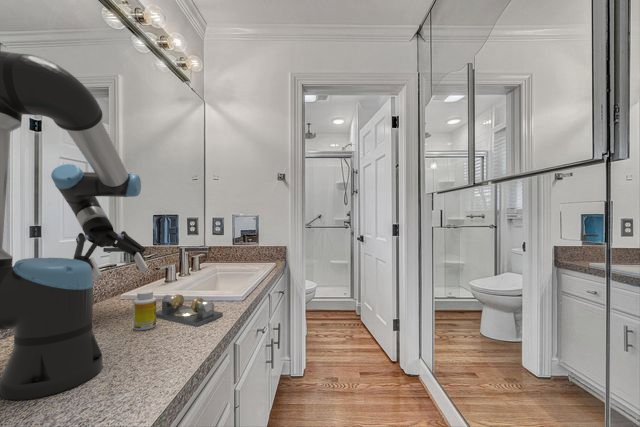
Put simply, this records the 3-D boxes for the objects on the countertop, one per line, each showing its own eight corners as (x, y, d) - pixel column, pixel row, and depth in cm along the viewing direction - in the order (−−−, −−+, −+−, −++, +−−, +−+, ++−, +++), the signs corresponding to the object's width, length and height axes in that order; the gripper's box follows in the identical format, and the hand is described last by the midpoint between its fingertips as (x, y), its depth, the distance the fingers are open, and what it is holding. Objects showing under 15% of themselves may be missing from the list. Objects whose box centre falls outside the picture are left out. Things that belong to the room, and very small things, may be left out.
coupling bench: (197, 326, 87) (197, 304, 87) (152, 316, 96) (152, 296, 96) (222, 316, 96) (222, 296, 96) (179, 308, 105) (179, 289, 105)
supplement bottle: (158, 328, 86) (158, 292, 86) (135, 332, 83) (135, 295, 83) (154, 322, 90) (154, 288, 90) (132, 327, 87) (132, 291, 87)
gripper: (129, 230, 110) (155, 274, 104) (42, 233, 88) (69, 290, 81) (138, 215, 108) (166, 260, 101) (52, 215, 86) (80, 272, 79)
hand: (123, 273), depth 91 cm, fingers open, 13 cm apart
